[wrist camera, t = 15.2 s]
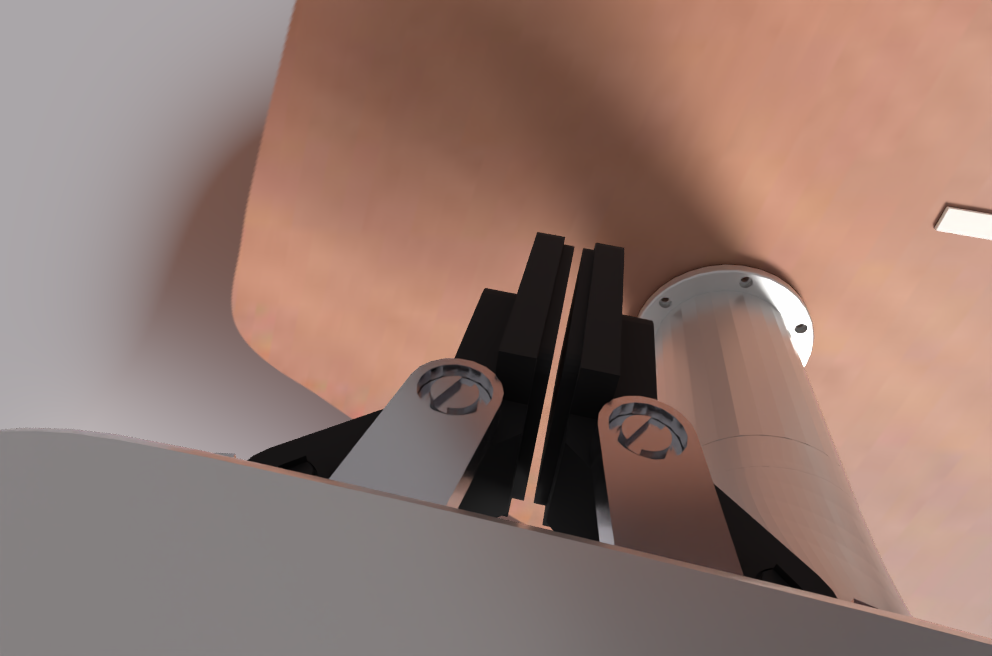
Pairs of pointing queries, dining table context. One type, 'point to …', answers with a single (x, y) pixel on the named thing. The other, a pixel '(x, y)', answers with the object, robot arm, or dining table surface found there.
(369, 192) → the dining table surface
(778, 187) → the dining table surface
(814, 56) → the dining table surface
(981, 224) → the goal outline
